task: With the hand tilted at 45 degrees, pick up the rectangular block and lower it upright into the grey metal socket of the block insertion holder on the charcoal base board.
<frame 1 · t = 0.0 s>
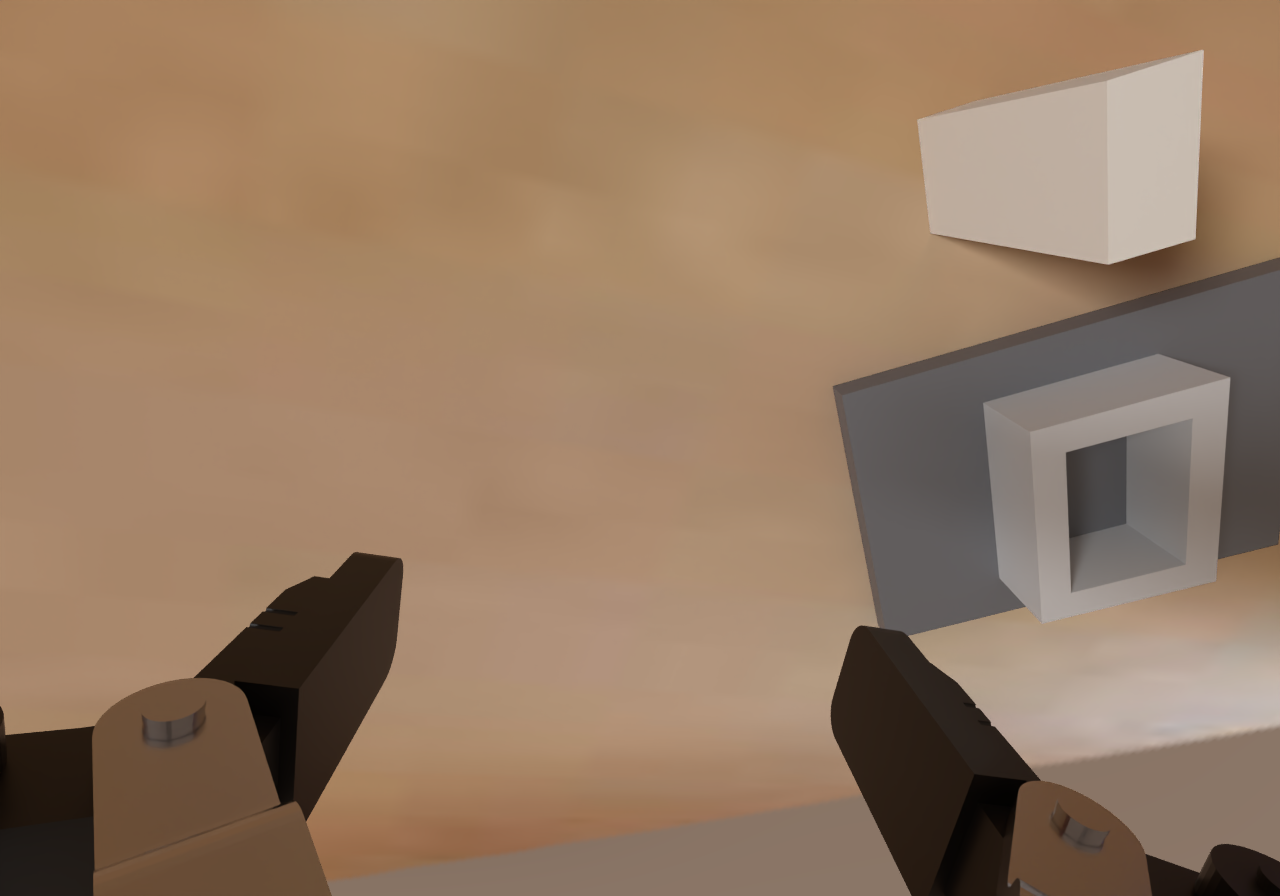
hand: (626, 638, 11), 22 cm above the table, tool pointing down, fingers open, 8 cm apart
rectangular block: (951, 169, 29), on the table
block insertion holder: (1055, 462, 35), on the table
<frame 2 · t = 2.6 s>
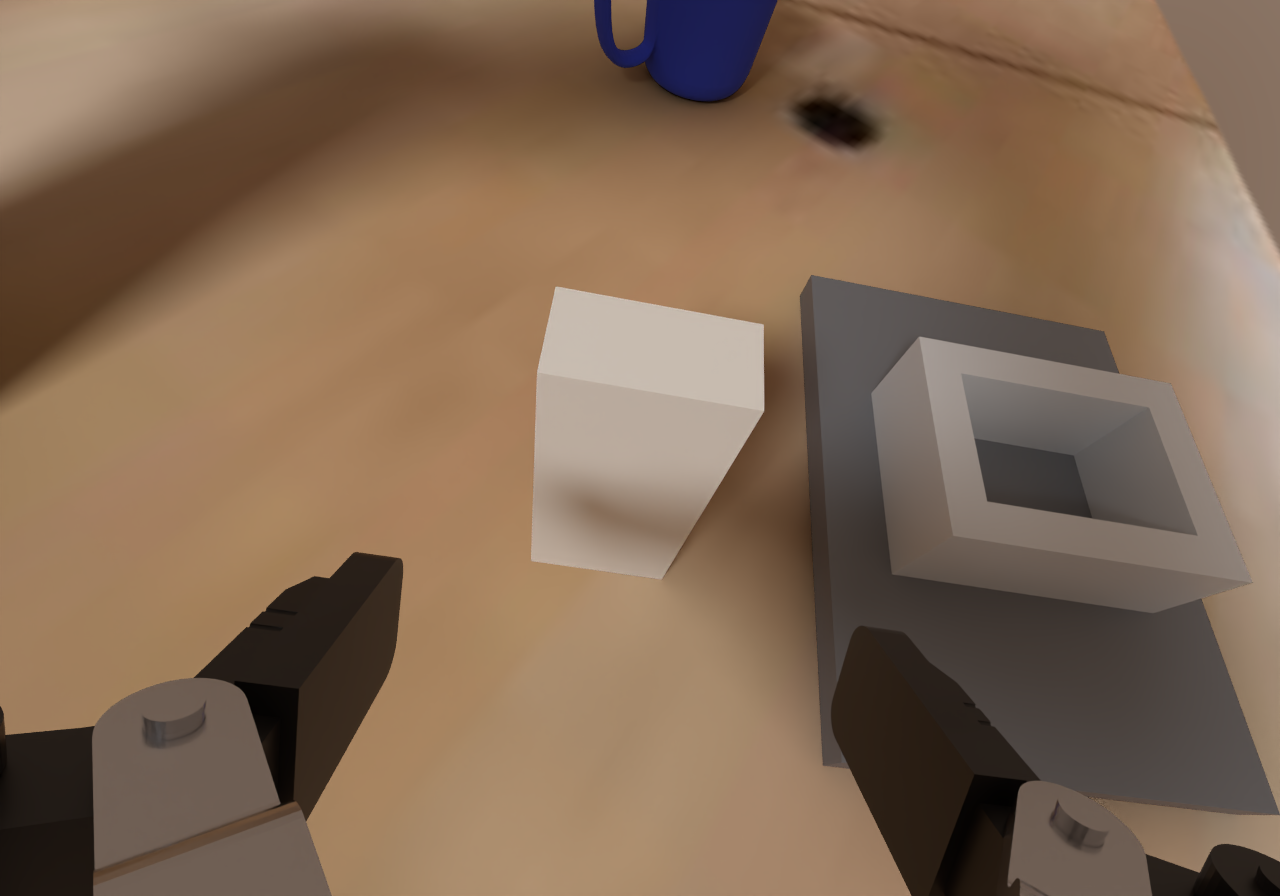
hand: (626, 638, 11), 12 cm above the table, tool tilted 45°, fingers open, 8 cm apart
mug: (666, 84, 41), on the table
rectangular block: (601, 539, 25), on the table
block insertion holder: (981, 510, 28), on the table
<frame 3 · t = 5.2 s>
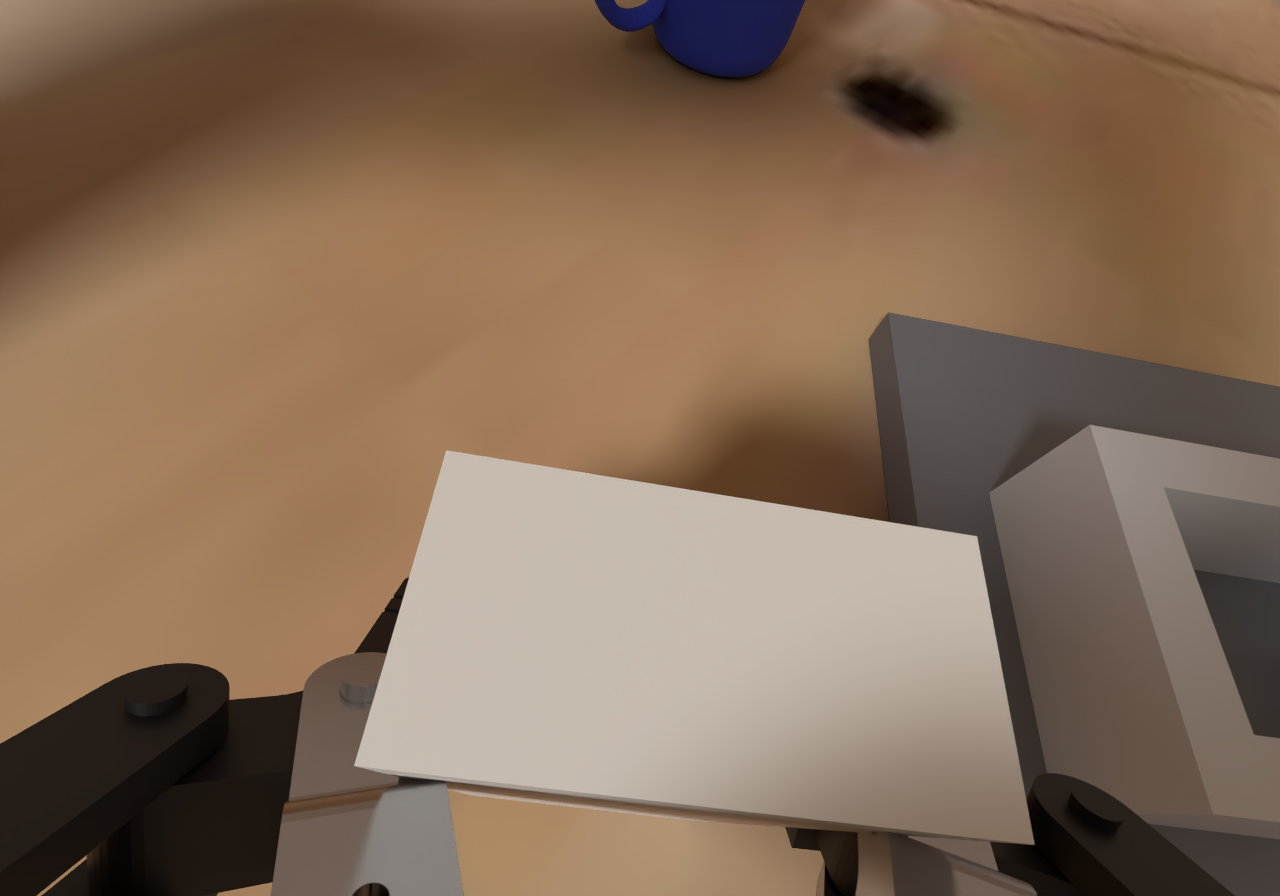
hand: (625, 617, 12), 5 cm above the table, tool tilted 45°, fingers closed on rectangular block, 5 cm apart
mug: (680, 57, 32), on the table
rectangular block: (587, 749, 15), on the table, touching gripper
block insertion holder: (1155, 669, 19), on the table
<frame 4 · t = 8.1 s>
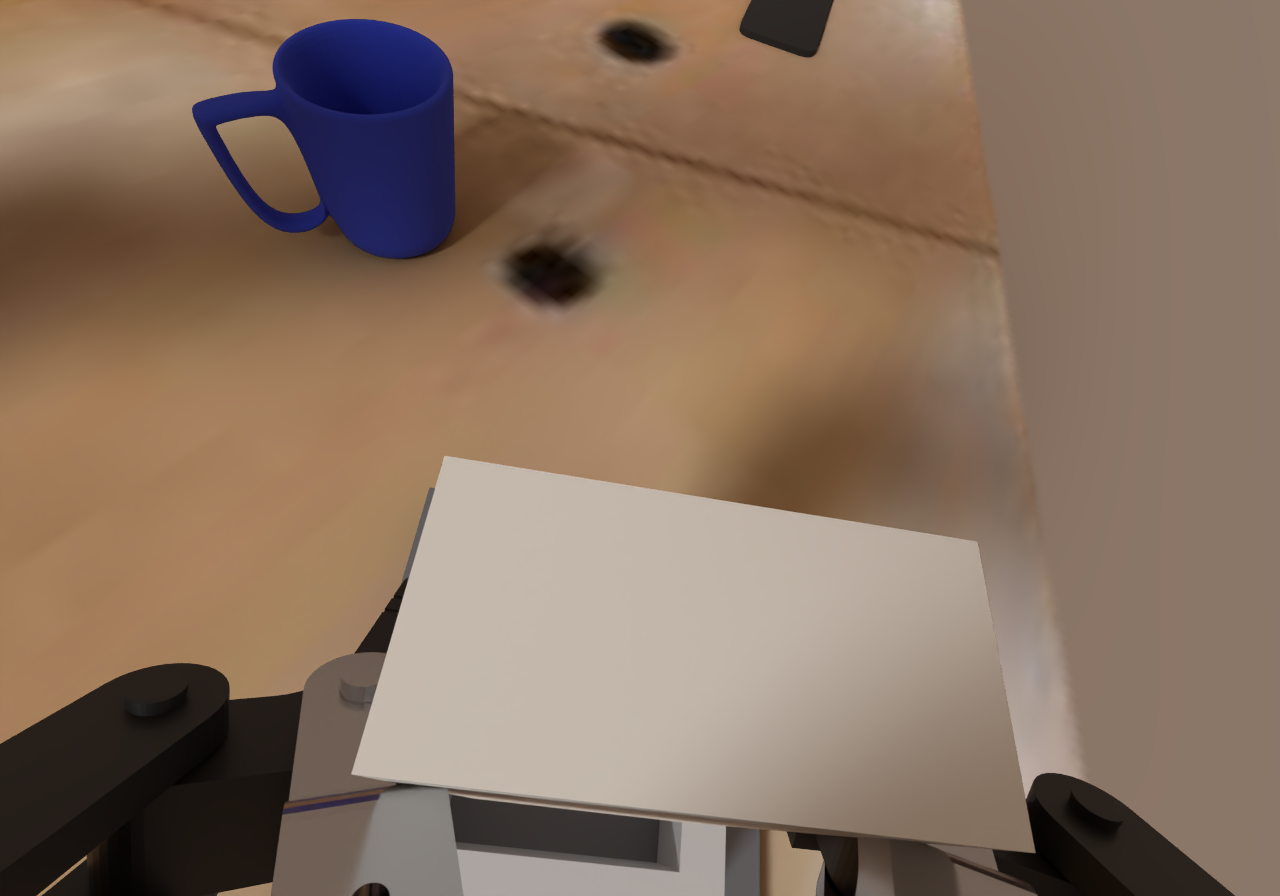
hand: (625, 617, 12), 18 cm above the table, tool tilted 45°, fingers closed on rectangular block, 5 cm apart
mug: (368, 236, 39), on the table
rectangular block: (587, 751, 15), point 12 cm above the table, touching gripper
phone: (787, 15, 61), on the table
block insertion holder: (560, 770, 26), on the table
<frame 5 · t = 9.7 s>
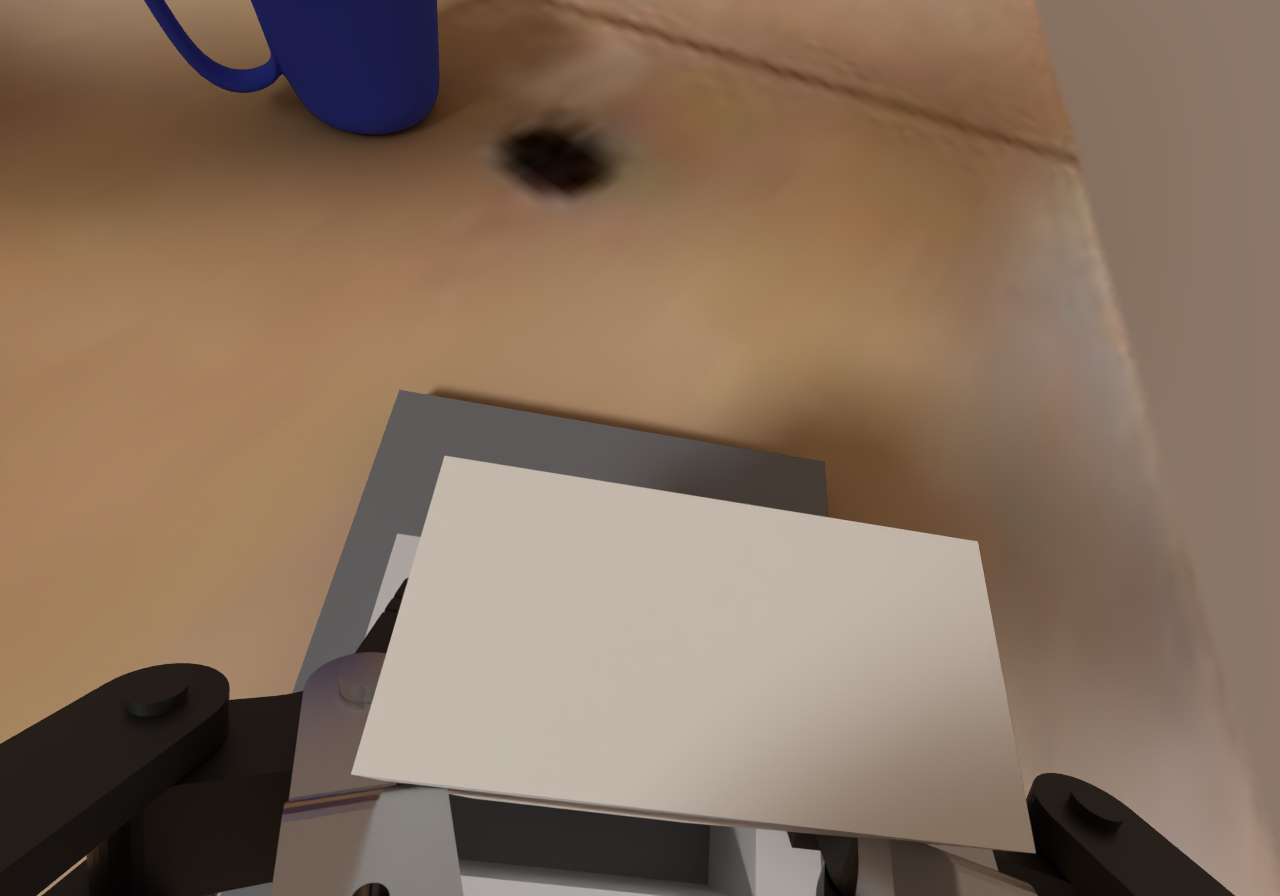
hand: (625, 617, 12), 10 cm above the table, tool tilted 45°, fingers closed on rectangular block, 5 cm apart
mug: (333, 112, 32), on the table
rectangular block: (587, 751, 15), point 4 cm above the table, touching gripper
block insertion holder: (571, 757, 19), on the table
when the fingers open (8 cm above the table, at t = 11.0 s): rectangular block drops 1 cm, resting on block insertion holder.
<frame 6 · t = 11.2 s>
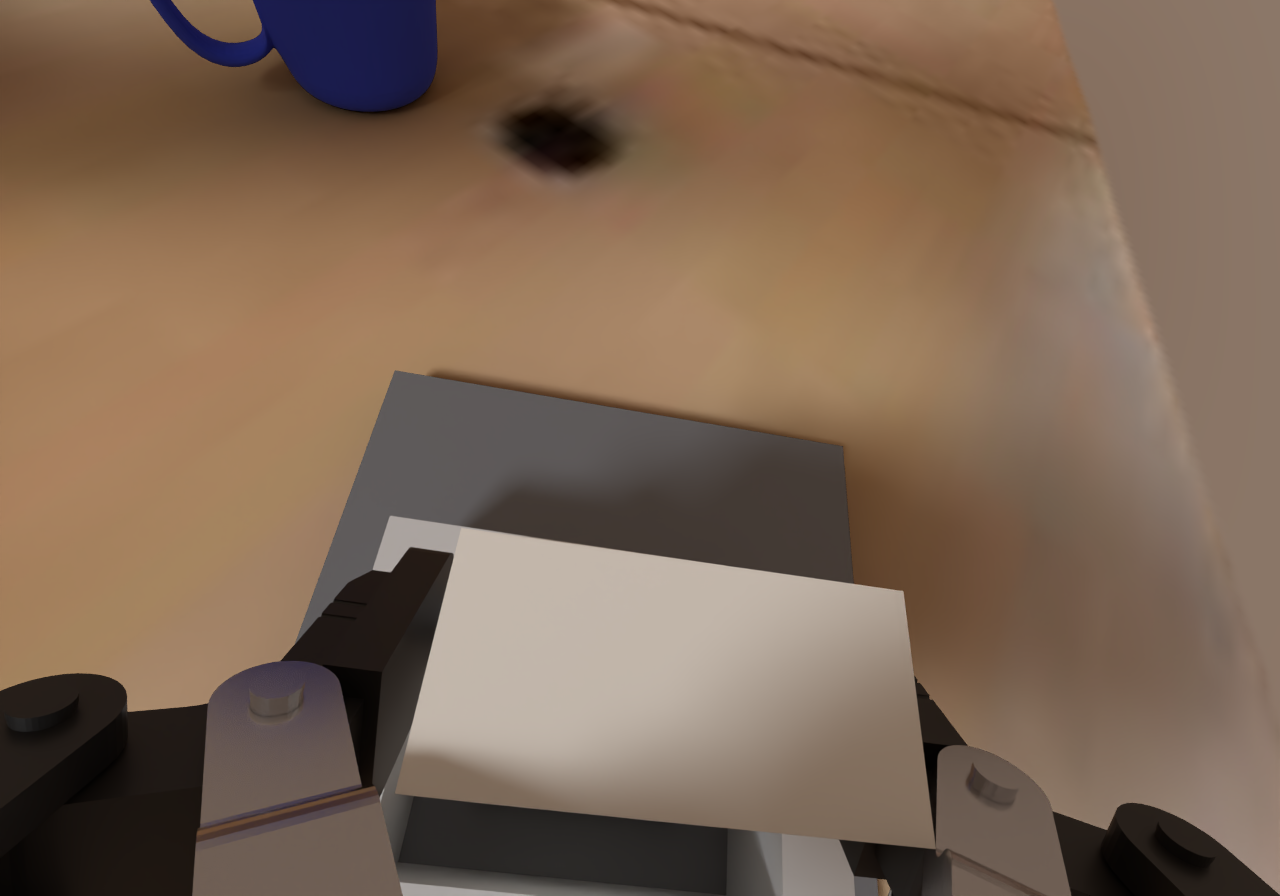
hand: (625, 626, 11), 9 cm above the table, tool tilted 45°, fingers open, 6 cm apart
mug: (328, 89, 31), on the table
rectangular block: (583, 758, 17), point 2 cm above the table, touching block insertion holder
block insertion holder: (577, 757, 18), on the table
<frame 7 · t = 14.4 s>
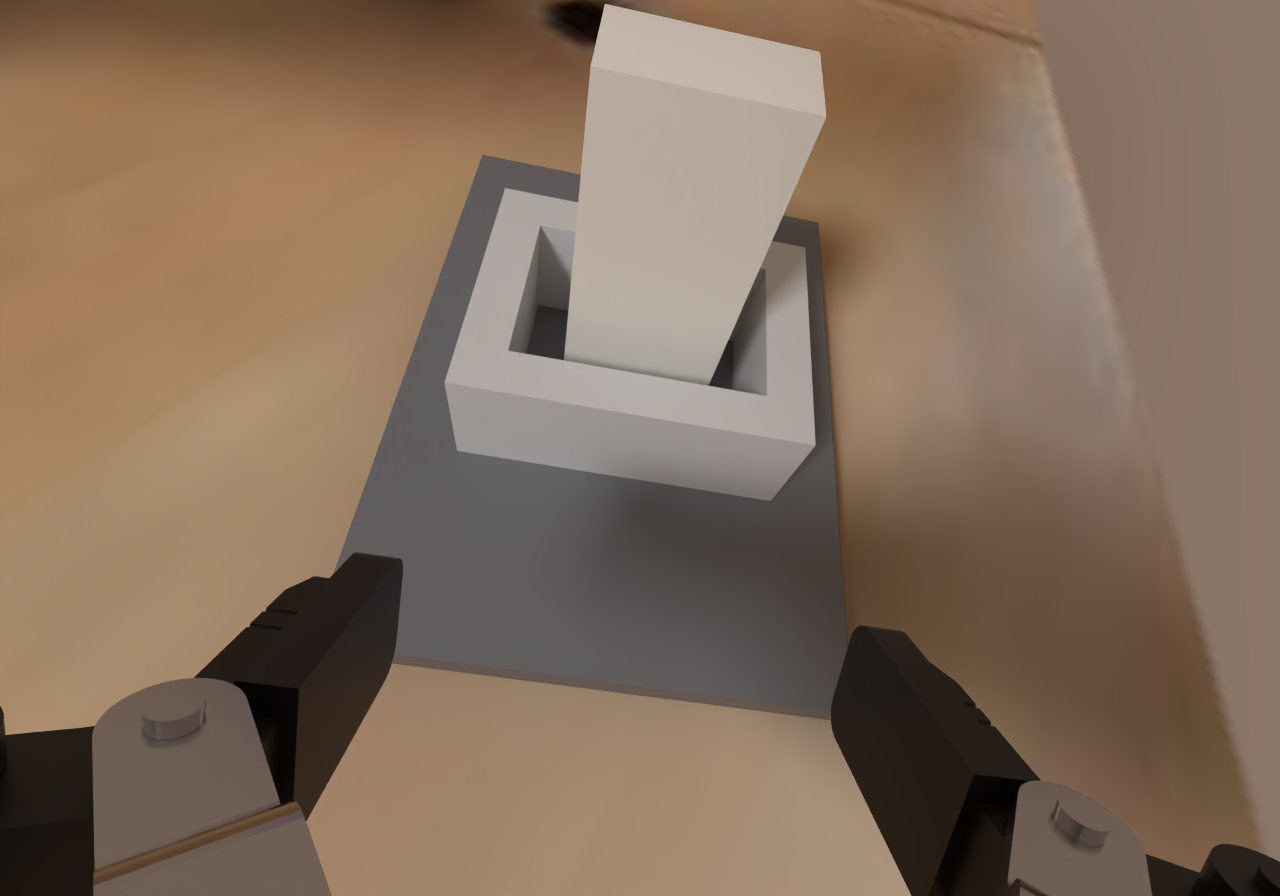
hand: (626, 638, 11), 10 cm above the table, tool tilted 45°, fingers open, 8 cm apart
rectangular block: (631, 380, 24), point 1 cm above the table, touching block insertion holder
block insertion holder: (624, 399, 25), on the table
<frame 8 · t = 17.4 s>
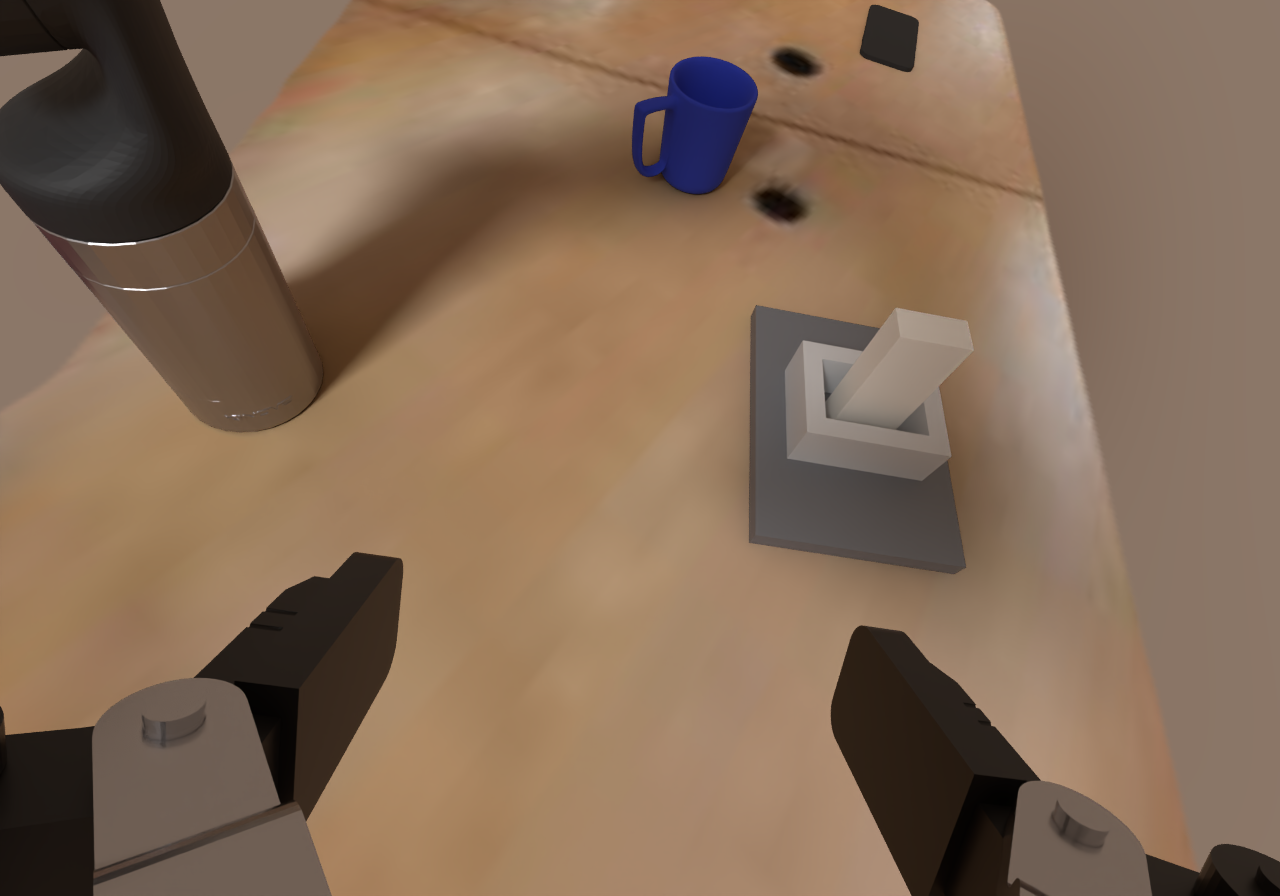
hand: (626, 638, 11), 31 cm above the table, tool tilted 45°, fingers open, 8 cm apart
mug: (673, 182, 65), on the table
rectangular block: (851, 425, 51), point 1 cm above the table, touching block insertion holder
phone: (887, 42, 88), on the table
block insertion holder: (843, 433, 53), on the table
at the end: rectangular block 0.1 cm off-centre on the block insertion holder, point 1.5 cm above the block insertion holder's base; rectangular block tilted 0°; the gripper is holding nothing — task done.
